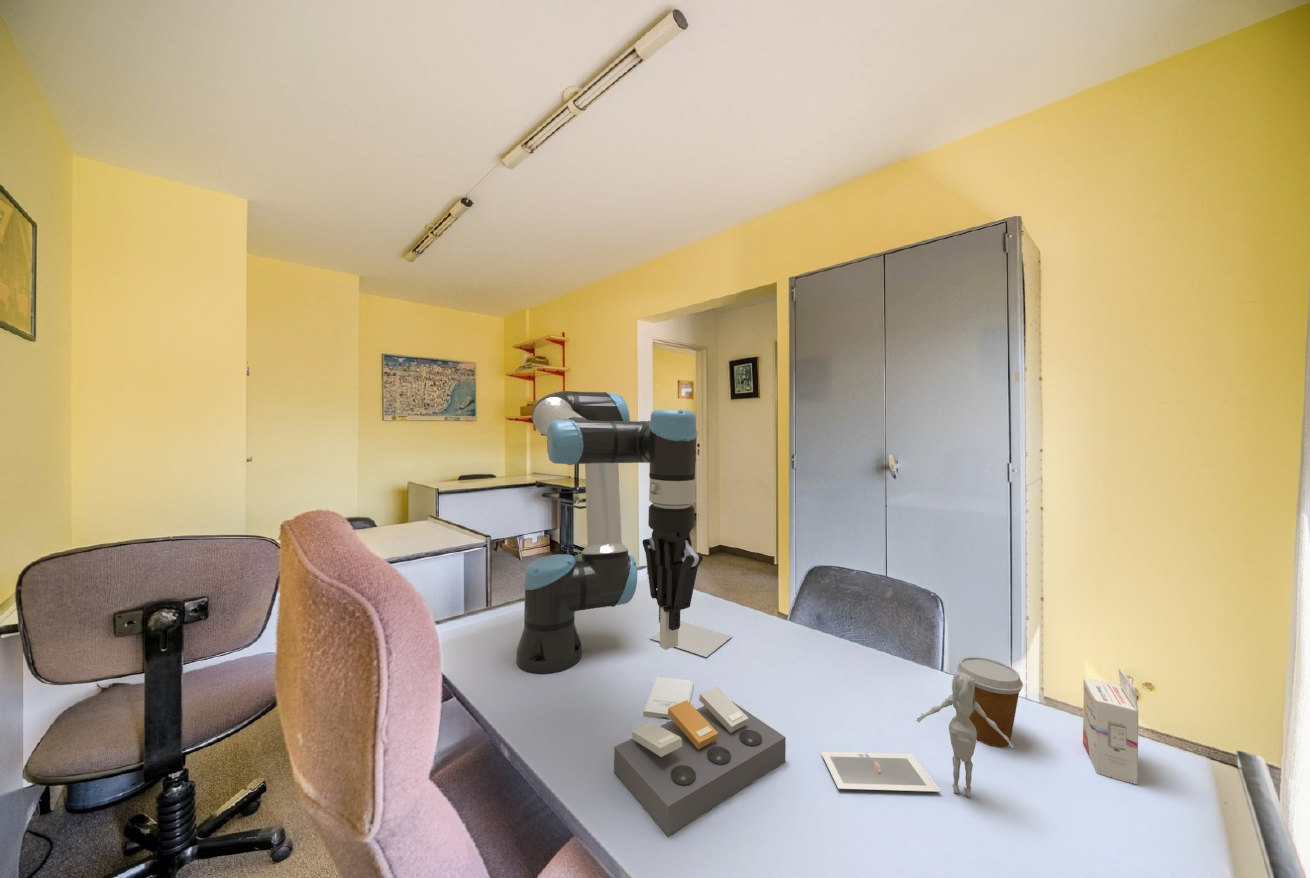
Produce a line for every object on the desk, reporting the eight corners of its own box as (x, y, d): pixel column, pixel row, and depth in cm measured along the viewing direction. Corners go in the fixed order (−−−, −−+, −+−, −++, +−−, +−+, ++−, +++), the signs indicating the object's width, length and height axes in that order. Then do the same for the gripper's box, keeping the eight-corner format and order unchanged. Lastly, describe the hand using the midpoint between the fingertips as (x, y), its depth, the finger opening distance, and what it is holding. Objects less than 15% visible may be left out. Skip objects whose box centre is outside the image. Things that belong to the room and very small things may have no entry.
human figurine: (1010, 802, 66) (1012, 679, 66) (1015, 821, 63) (1017, 692, 62) (915, 771, 72) (916, 658, 72) (915, 787, 69) (917, 669, 68)
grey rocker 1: (632, 739, 73) (631, 729, 73) (652, 729, 75) (651, 720, 75) (661, 757, 66) (660, 746, 66) (682, 746, 68) (681, 736, 69)
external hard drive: (693, 688, 96) (686, 724, 84) (655, 683, 98) (643, 718, 86) (693, 680, 96) (686, 716, 84) (655, 676, 98) (643, 710, 86)
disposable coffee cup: (1004, 761, 74) (1005, 688, 74) (944, 727, 83) (945, 662, 83) (1033, 743, 79) (1034, 674, 79) (973, 713, 87) (974, 651, 87)
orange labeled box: (667, 714, 76) (668, 706, 76) (685, 706, 79) (687, 698, 79) (698, 749, 70) (699, 741, 70) (717, 739, 72) (718, 732, 72)
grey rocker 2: (699, 699, 81) (700, 693, 80) (715, 692, 83) (716, 685, 83) (730, 733, 74) (731, 725, 74) (747, 724, 76) (748, 716, 76)
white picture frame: (940, 798, 67) (940, 784, 67) (838, 795, 67) (838, 781, 67) (912, 760, 75) (912, 747, 75) (820, 758, 75) (820, 745, 75)
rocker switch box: (614, 772, 71) (614, 744, 71) (724, 717, 85) (724, 694, 85) (667, 836, 60) (668, 804, 60) (785, 761, 74) (785, 735, 74)
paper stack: (695, 612, 136) (695, 610, 136) (776, 634, 122) (776, 632, 122) (649, 640, 117) (649, 638, 117) (738, 671, 103) (738, 667, 103)
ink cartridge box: (1080, 742, 79) (1081, 658, 79) (1120, 753, 76) (1121, 666, 76) (1094, 774, 72) (1096, 681, 72) (1139, 787, 69) (1140, 691, 69)
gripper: (630, 500, 77) (628, 636, 78) (679, 513, 67) (676, 670, 68) (665, 496, 82) (662, 625, 82) (716, 508, 71) (712, 655, 72)
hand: (668, 645), depth 75 cm, fingers closed
